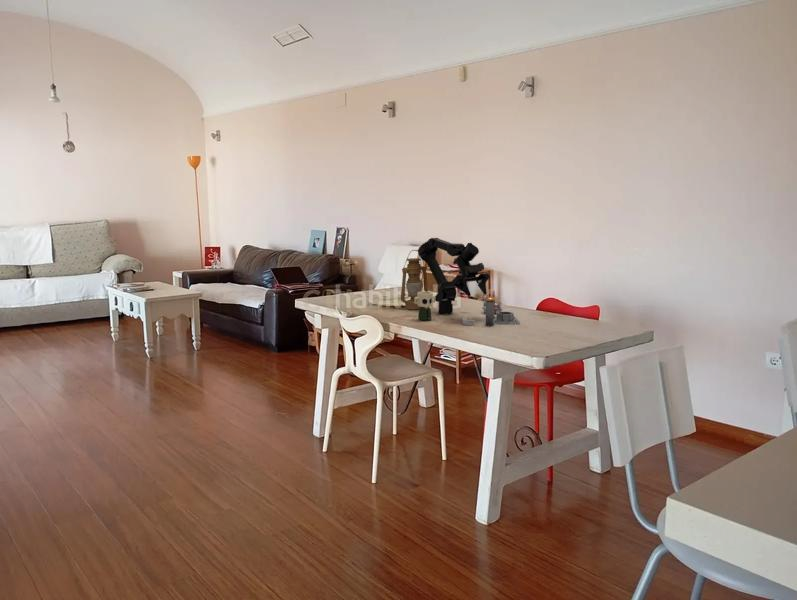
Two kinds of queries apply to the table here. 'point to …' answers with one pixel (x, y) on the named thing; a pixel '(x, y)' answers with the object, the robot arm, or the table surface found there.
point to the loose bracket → (467, 321)
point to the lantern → (413, 281)
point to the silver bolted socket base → (505, 318)
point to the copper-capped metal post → (489, 311)
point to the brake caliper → (496, 307)
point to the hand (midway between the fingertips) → (477, 295)
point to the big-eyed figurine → (424, 304)
